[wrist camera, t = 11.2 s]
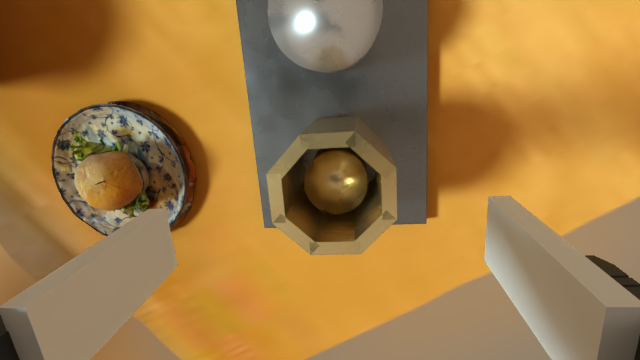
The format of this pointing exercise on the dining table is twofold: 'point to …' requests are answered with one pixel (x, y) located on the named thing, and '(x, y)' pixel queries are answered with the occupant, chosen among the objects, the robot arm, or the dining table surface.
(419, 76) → the plate
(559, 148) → the dining table surface
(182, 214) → the burger
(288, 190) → the sleeve
